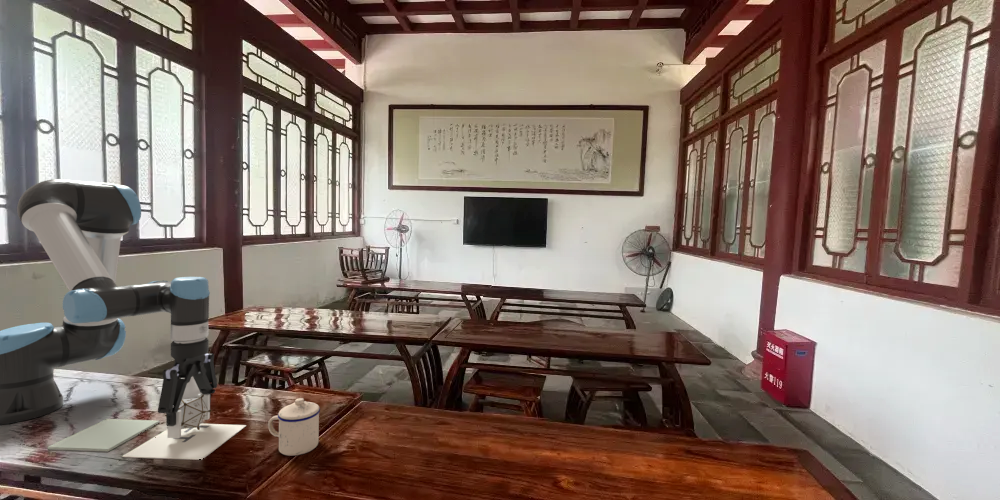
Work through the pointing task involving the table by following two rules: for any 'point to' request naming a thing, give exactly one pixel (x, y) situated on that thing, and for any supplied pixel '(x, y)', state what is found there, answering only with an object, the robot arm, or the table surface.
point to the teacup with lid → (297, 427)
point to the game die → (192, 412)
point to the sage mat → (104, 435)
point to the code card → (186, 443)
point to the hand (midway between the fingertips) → (189, 427)
